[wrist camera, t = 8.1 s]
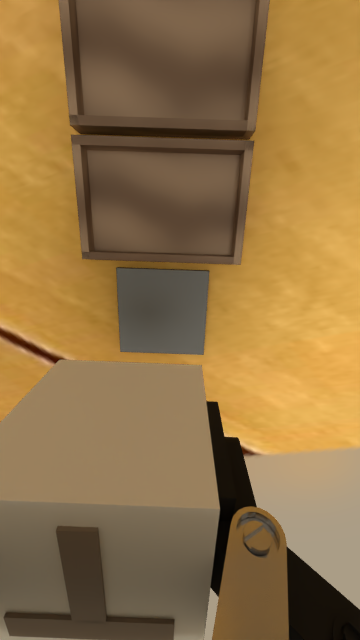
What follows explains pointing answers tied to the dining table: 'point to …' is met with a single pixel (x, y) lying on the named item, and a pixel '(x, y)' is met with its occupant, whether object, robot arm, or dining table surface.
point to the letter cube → (108, 505)
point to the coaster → (162, 310)
